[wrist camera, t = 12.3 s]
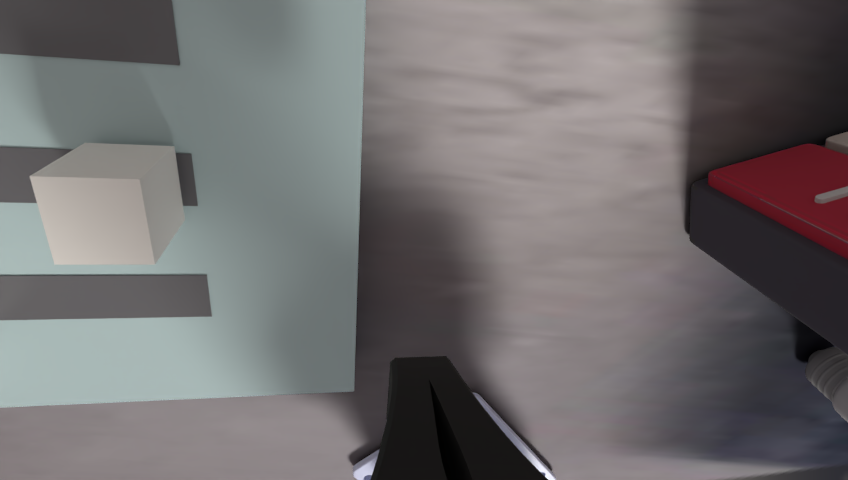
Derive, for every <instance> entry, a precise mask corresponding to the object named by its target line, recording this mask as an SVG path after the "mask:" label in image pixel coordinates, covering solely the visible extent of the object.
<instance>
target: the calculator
mask: <svg viewBox="0 0 848 480" xmlns="http://www.w3.org/2000/svg"><path fill="white" fill-rule="evenodd" d="M690 241H691V242H692V243H693V244H694V245H696V246H697V247H698V248H700V249H701V250H703V251H704V252H705V253H707V254H708V255H710V256H711V257H712V258H714V259H715V260H717V261H718V262H719V263H721V264H722V265H723V266H725V267H726V268H728V269H729V270H730V271H732V272H733V273H735V274H736V275H737V276H739V277H740V278H742V279H743V280H744V281H746V282H747V283H748V284H750V285H751V286H753V287H754V288H755V289H757V290H758V291H760V292H761V293H762V294H764V295H765V296H767V297H768V298H769V299H771V300H772V301H773V302H775V303H776V304H778V305H779V306H780V307H782V308H783V309H785V310H786V311H787V312H789V313H790V314H791V315H793V316H794V317H796V318H797V319H798V320H800V321H801V322H803V323H804V324H805V325H807V326H808V327H810V328H811V329H812V330H814V331H815V332H816V333H818V334H819V335H821V336H822V337H823V338H825V339H826V340H828V341H829V342H830V343H832V344H833V345H835V346H836V347H837V348H839V349H840V350H841V351H843V352H844V353H846V354H847V355H848V132H845V133H841V134H838V135H834V136H831V137H828V138H827V139H826V142H825V145H821V146H819V145H815V144H803V145H799V146H796V147H792V148H789V149H785V150H782V151H778V152H775V153H771V154H768V155H764V156H761V157H757V158H754V159H750V160H747V161H743V162H740V163H736V164H733V165H729V166H726V167H722V168H719V169H715V170H713V171H710V172H709V175H708V178H706V179H702V180H699V181H696V182H694V183H693V184H692V186H691V204H690Z"/></svg>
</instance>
